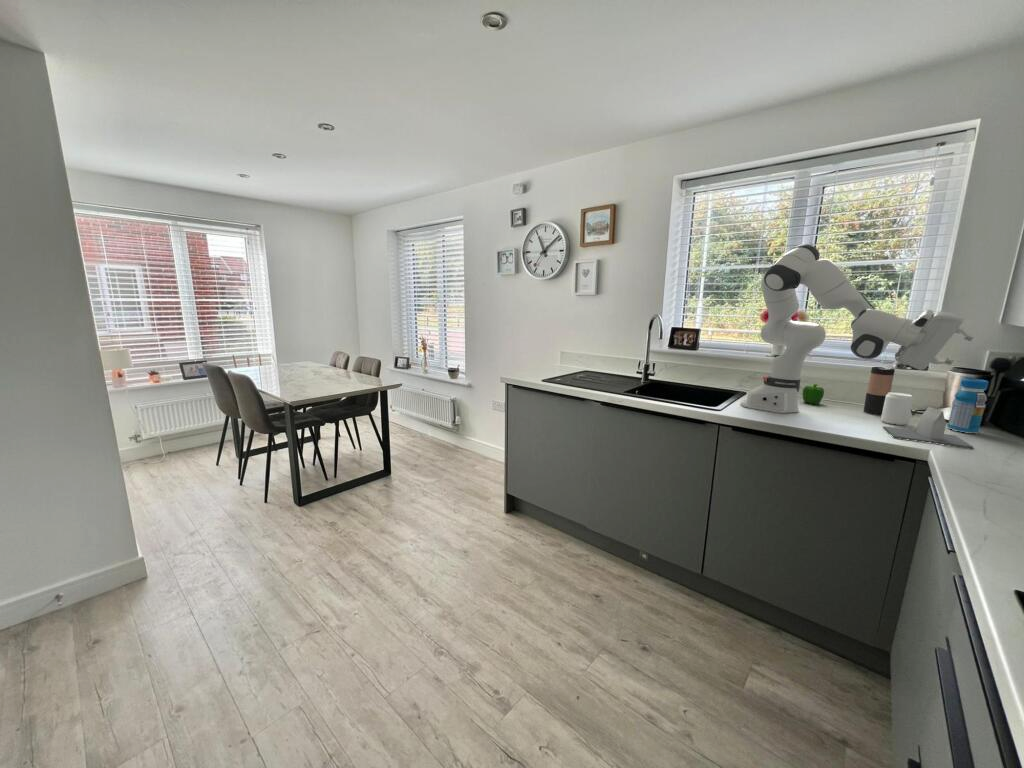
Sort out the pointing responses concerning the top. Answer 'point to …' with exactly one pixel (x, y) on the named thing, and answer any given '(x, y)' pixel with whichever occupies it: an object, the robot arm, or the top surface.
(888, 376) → the travel mug
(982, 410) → the beverage bottle
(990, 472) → the top surface
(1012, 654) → the top surface
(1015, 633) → the top surface
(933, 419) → the grey block
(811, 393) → the bell pepper
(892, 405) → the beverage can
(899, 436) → the charcoal mat
